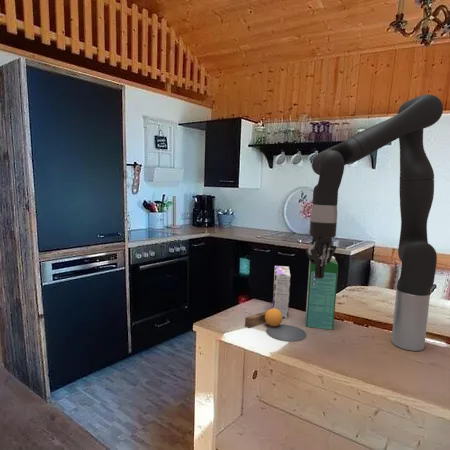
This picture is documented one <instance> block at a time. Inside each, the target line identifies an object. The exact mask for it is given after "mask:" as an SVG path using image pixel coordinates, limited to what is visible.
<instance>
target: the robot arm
mask: <svg viewBox="0 0 450 450" xmlns="http://www.w3.org/2000/svg"><path fill="white" fill-rule="evenodd" d="M443 112H444V105H443V103H442V100H441V99H440V98H439V97H438V96H436V95H433V94H422V95H419V96H416V97H414V98H411V99H409V100H407V101H405V102H403V103H402V104H401V105H400V106H399V108H398V110H397V114H396V115H393V116H392V117H390V118H388V119H386V120H383V121H381V122H379V123H378V124H377V123H376V124H374V125H372V126H369V127H368V128H366V129H365V128H364V129H363V130H362V131H359V132H358V133H356V134H353V135H352V136H350V137H348V138H347V139H346V140H344V141H342V142H341V143H338V144H336V145H333V146H331V147H329V148H326V149H325V150H322V151H321V152H319V153H318V154H317V153H316V154H315V156H314V157H313V159H312V161H311V168H312V170H313V172H314V173H315V174H316V175H318V181H317V184H316V185H315V186H314V187H313V193H312V204H311V211H310V219H309V220H310V221H309V235H310V236H311V237H312V239H311V243H310V245H311V246H310V247H307V248H306V249H305V252H306V256H307V257H308V259H309V261H310V262H311V264H314V265H315V277H316V278H319V279H321V278H324V271H325V266H326V264H327V263H330V261H331V258H332V256H333V257H334V254H335V252H336V250H337V246H336V245H333V238H336V236H337V227H338V226H337V225H338V224H337V223H338V201H339V200H338V199H339V197H338V196H339V189H340V187H341V182H342V180H343V177H344V176H343V175H344V173H345V172H344V171H345V166H347V165H349V164H352V163H355V162H358V161H360V160H362V159H363V158H366V157H368V156H369V155H371V154H372V153H374V152H377V151H378V150H380V149H382V148H383V147H385V146H387V145H389V144H390V143H392V142H394V141H396V140H397V139H398V143H399V211H400V234H399V240H398V241H399V242H398V247H397V248H398V250H397V254H398V258H399V260H400V262H401V265H400V267H401V268H400V275H399V278H398V279H397V282H396V288H395V289H396V290H395V291H396V292H395V302H394V311H393V322H392V329H391V330H392V332H391V343H392V345H394V346H395V347H398V348H400V349H403V350H408V351H414V352H419V351H420V352H421V351H423V350H425V343H426V335H427V325H428V320H429V319H428V318H429V317H428V315H429V307H430V300H431V299H430V297H431V291H432V287H434V282H435V276H436V269H437V262H438V258H437V257H438V256H437V252H436V249H435V247H433V245H432V244H430V243H429V241H428V219H429V216H430V212H431V209H432V205H433V201H434V195H435V173H434V168H433V166H432V164H431V162H430V160H429V158H428V156H427V153H426V151H425V147H424V129H427V128H430V127H432V126H434V125H435V124H436V123H438V121H439V120H440V119H441V117H442V116H443ZM327 258H328V259H327Z"/></svg>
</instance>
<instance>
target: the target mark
mask: <svg viewBox="0 0 450 450" xmlns="http://www.w3.org/2000/svg"><path fill="white" fill-rule="evenodd" d="M265 332H266V333H265V334H267V335H268V336H269V337H271V338H272V339H275V340H278V341H281V342H290V341H293V342H299V341H303V340H304V339H306V338H307V333H306V331H305V330H303V329H302V328H300V327H298V326H295V325H291V324H282V323H281V324H280V325H278V326H270V325H268V327H266V330H265Z"/></svg>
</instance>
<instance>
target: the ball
mask: <svg viewBox="0 0 450 450" xmlns="http://www.w3.org/2000/svg"><path fill="white" fill-rule="evenodd" d="M266 311H267V312H266V314H265V320H266V322H265V323H266V324H267V325H268V326H278V325H280V324H282V322H283V319H284V318H283V316H282V313H281V312H280V311H279V310H278V309H275V308H273V307H272V308H270V309H268V310H266Z"/></svg>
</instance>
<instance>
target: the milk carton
mask: <svg viewBox="0 0 450 450" xmlns="http://www.w3.org/2000/svg"><path fill="white" fill-rule="evenodd" d="M327 259H328V258H327ZM308 262H309V264H308V276H307V278H308V279H307V292H306V306H305V325H306V326H305V327H307V328H313V329H314V328H315V329H323V330H331V331H332V330H334V327H335V326H334V324H335V323H334V322H335V312H336V300H337V299H336V298H337V287H338V274H339V264H338V262H337V260H336V257H335V256H334V255H333V256H332V258H331V261H330V263H327V264H326V266H325V271H324V278H321V279H319V278H316V277H315V265H314V264H311V262H310V260H309V261H308Z"/></svg>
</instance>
